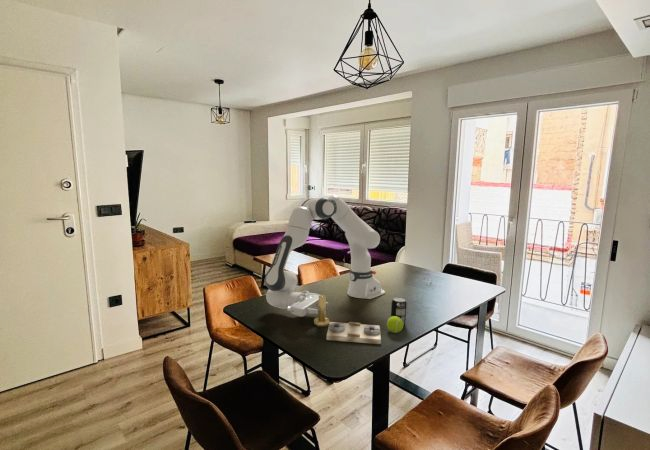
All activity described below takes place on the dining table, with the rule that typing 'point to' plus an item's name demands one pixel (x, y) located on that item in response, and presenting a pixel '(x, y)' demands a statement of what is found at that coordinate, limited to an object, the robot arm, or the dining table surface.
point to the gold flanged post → (321, 313)
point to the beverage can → (399, 308)
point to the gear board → (354, 332)
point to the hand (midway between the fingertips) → (322, 308)
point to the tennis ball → (395, 324)
